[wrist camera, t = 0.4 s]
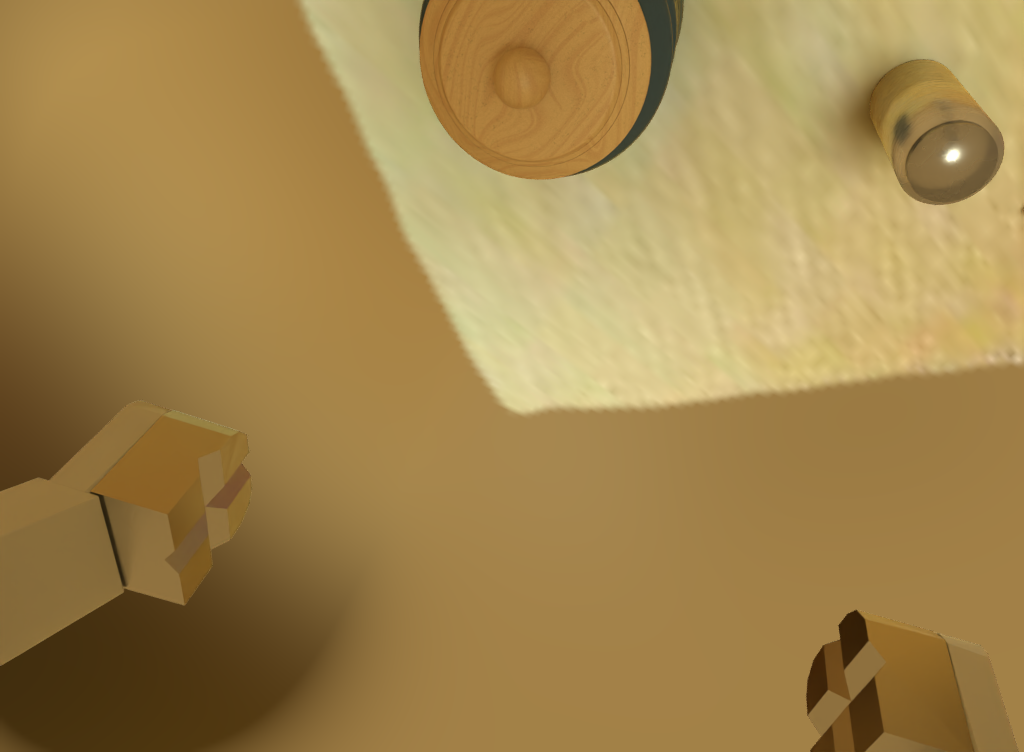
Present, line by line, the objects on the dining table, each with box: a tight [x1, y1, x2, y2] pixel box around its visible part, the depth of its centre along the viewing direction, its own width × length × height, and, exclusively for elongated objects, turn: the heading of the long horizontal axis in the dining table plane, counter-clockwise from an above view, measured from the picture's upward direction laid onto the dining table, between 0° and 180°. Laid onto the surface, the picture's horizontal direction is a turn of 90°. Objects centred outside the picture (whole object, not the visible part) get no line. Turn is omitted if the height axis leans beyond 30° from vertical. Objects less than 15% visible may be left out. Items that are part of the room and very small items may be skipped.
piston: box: [870, 59, 1004, 205], centre depth 42 cm, size 5×5×11 cm
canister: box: [419, 0, 684, 179], centre depth 40 cm, size 13×13×18 cm
